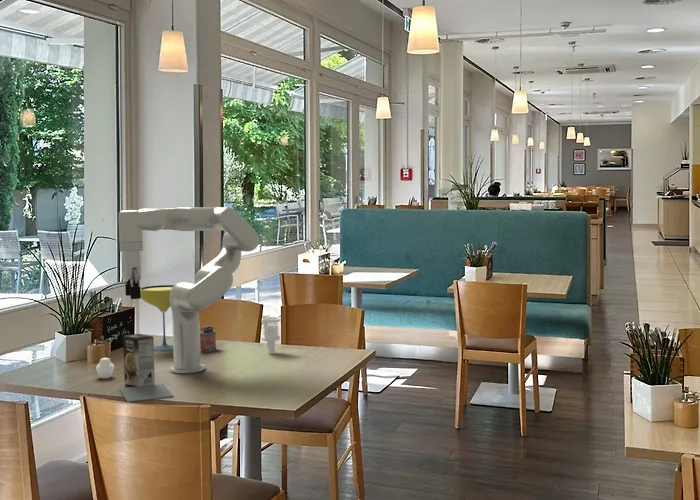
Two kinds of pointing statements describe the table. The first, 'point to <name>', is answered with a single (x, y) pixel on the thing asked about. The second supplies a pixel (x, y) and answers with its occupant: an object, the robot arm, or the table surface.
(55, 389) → the table surface
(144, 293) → the cocktail glass
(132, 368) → the coffee box
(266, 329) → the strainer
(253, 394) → the table surface
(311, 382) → the table surface
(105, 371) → the white rounded jar
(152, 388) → the rubber mat
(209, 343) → the lighter
